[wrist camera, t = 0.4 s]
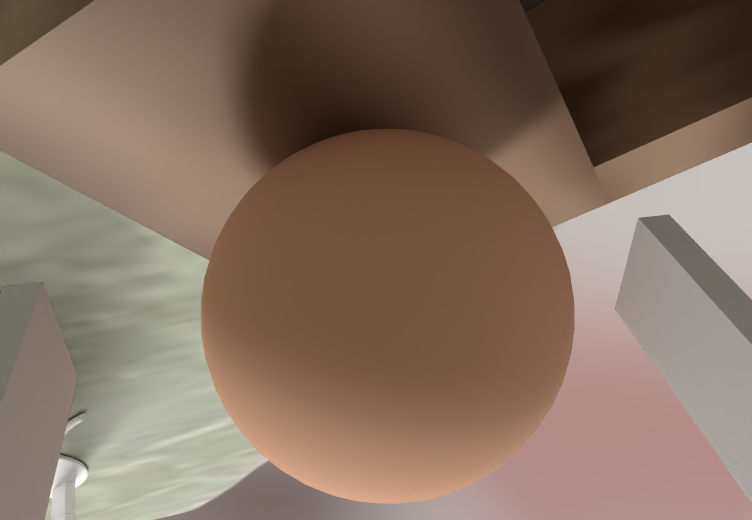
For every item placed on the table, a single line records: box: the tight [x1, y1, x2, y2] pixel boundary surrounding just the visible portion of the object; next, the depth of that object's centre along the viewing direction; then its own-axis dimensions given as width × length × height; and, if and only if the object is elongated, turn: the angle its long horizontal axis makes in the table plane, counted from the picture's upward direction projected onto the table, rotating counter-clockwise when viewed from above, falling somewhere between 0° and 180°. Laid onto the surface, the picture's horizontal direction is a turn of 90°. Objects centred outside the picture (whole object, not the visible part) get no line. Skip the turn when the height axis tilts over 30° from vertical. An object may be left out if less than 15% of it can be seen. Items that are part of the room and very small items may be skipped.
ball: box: [201, 129, 574, 504], centre depth 19 cm, size 10×10×10 cm
